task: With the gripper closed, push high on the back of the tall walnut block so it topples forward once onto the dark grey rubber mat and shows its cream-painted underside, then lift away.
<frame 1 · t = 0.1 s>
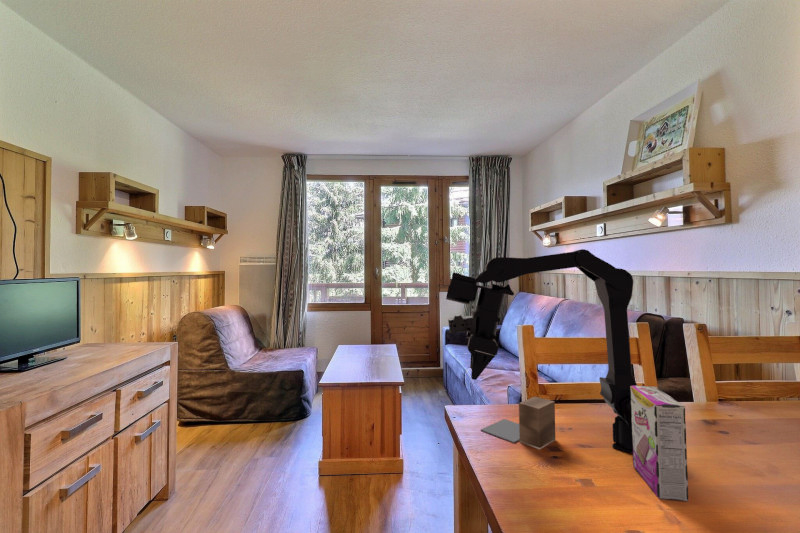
hand: (472, 373, 89), 15 cm above the table, tool pointing down, fingers open, 9 cm apart
candy bar box: (658, 484, 70), on the table
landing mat: (508, 430, 94), on the table
walnut block: (537, 441, 88), on the table
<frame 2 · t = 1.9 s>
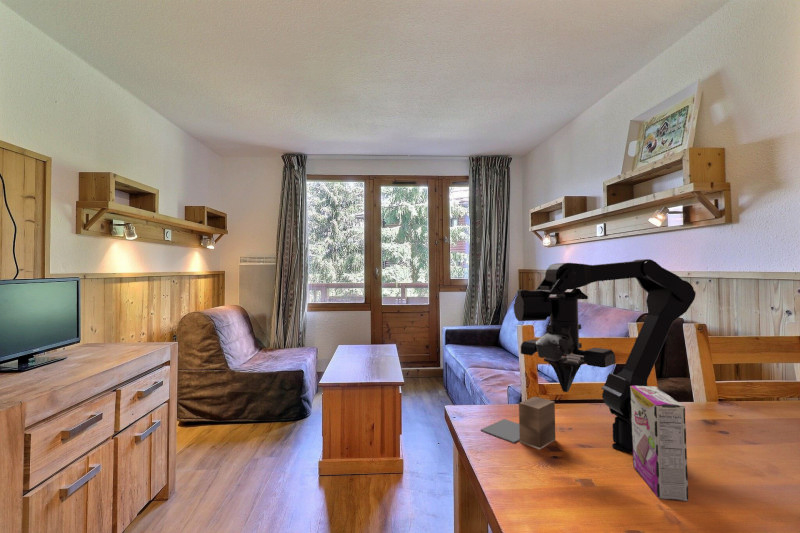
hand: (565, 391, 83), 13 cm above the table, tool pointing down, fingers closed
nothing on the table moved.
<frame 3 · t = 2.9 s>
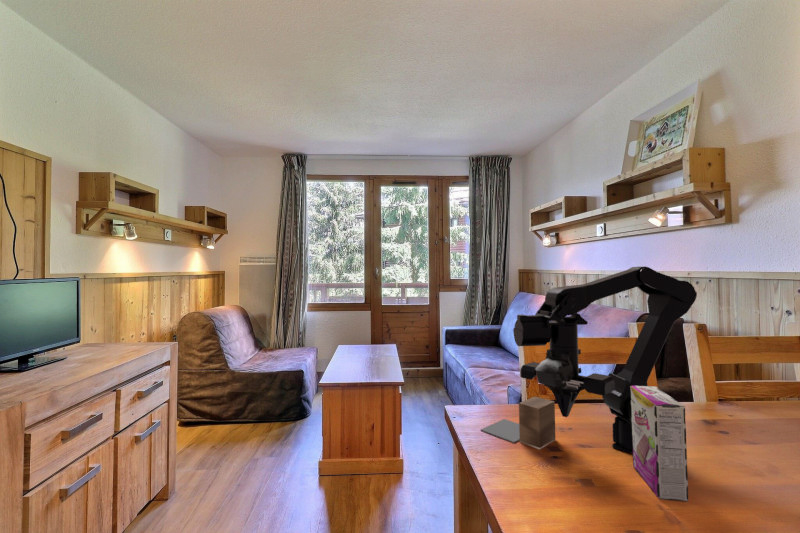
hand: (565, 416, 83), 8 cm above the table, tool pointing down, fingers closed
nothing on the table moved.
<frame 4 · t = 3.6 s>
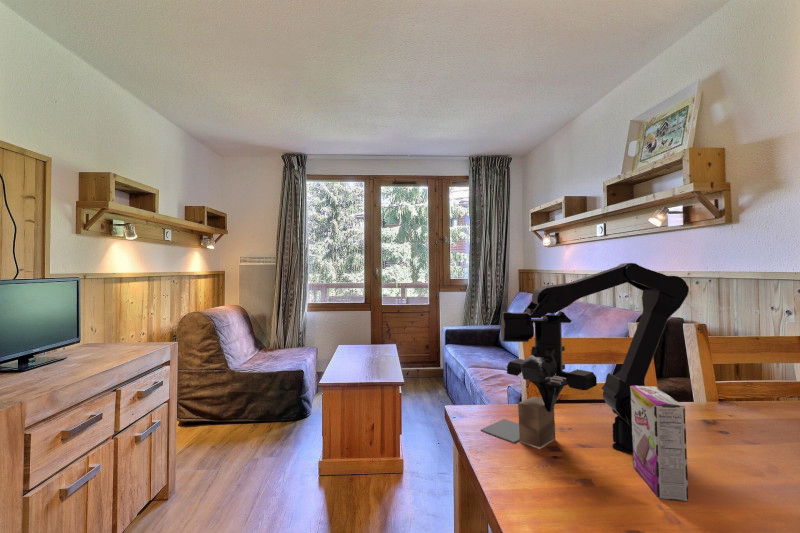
hand: (549, 411, 86), 8 cm above the table, tool pointing down, fingers closed
walnut block: (537, 441, 88), on the table, touching gripper
everything else where it was.
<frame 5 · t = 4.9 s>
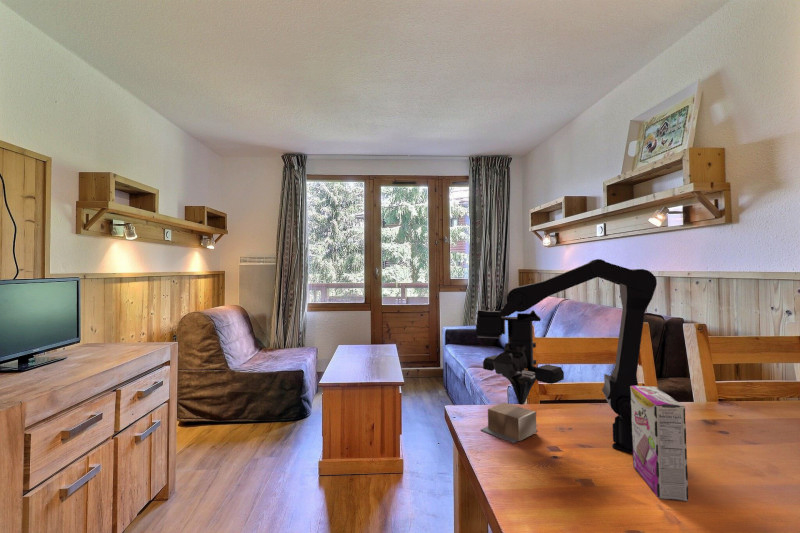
hand: (521, 404, 91), 8 cm above the table, tool pointing down, fingers closed
walnut block: (528, 425, 90), point 3 cm above the table, tilted 90°, touching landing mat
everything else where it was.
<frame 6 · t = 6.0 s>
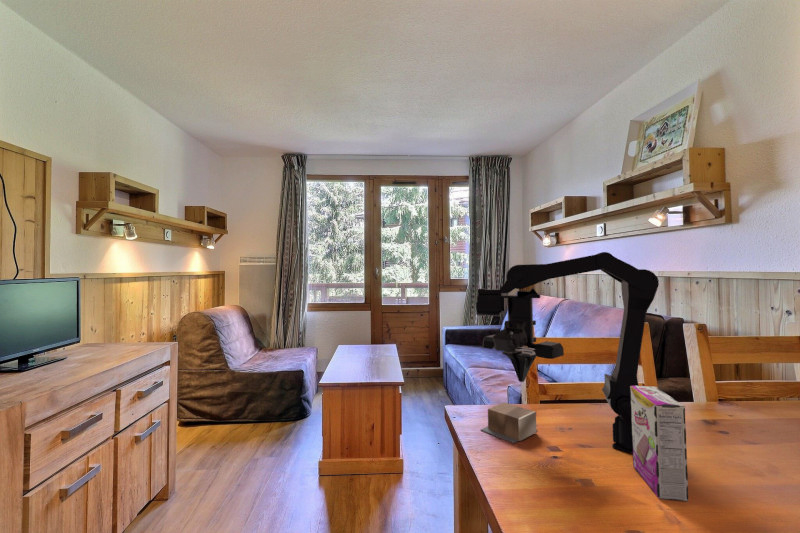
hand: (521, 381, 91), 13 cm above the table, tool pointing down, fingers closed
nothing on the table moved.
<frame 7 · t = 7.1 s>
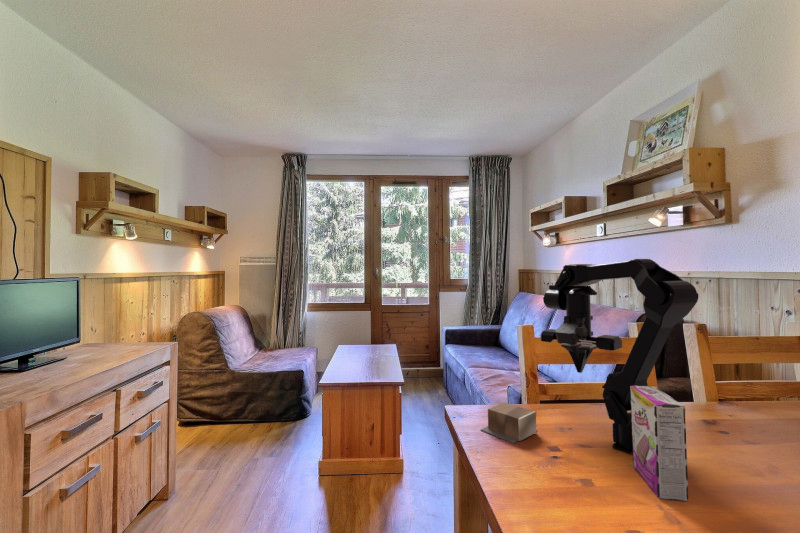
hand: (579, 372, 98), 13 cm above the table, tool pointing down, fingers closed
nothing on the table moved.
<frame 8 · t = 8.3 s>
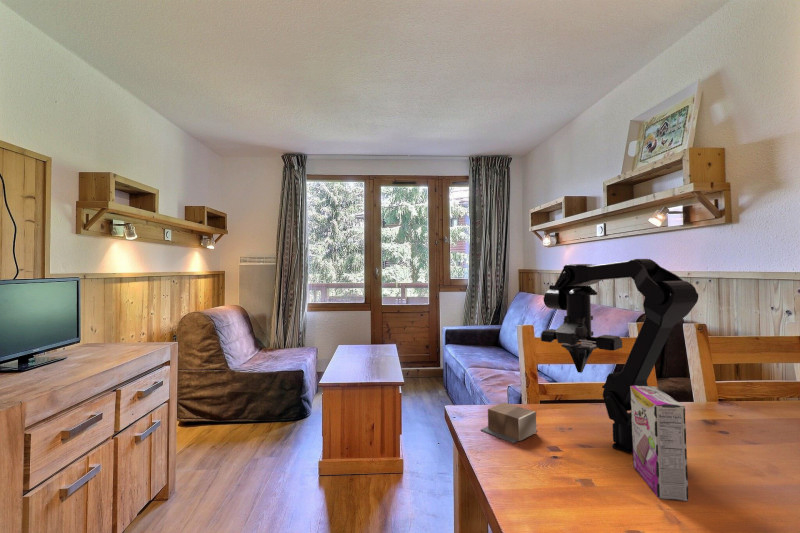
hand: (580, 372, 98), 13 cm above the table, tool pointing down, fingers closed
nothing on the table moved.
at the end: walnut block tilted 90°; walnut block inside the target area (3.7 cm from its centre), point 2.8 cm above the table; the gripper is holding nothing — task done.
